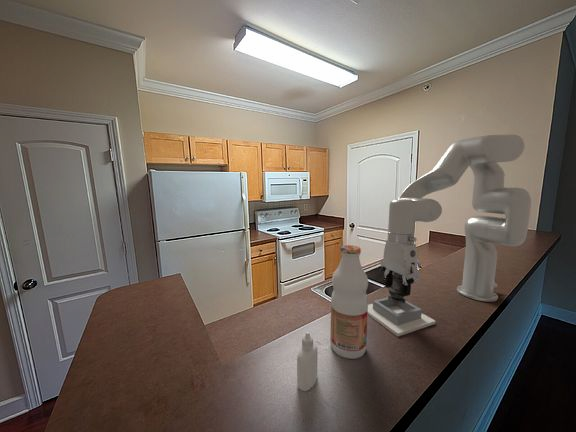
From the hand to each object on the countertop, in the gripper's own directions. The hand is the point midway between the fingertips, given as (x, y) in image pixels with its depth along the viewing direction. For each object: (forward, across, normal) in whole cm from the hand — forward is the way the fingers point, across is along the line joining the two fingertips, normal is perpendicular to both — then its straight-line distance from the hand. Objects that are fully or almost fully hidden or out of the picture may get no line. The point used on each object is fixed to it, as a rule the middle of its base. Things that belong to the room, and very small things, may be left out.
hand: (397, 290), depth 75 cm
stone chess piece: (+3, 0, 0) cm, 3 cm away
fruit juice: (+9, -6, +24) cm, 26 cm away
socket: (+9, 0, 0) cm, 9 cm away
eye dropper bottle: (+10, -12, +39) cm, 42 cm away
